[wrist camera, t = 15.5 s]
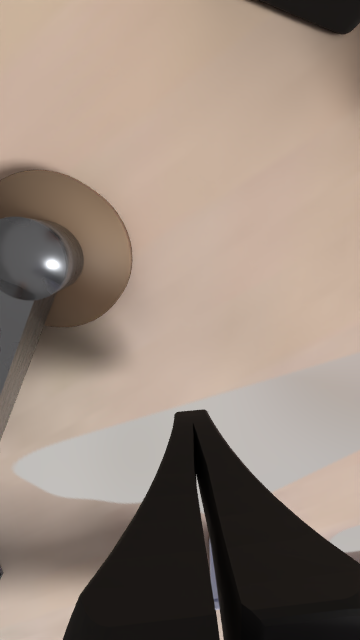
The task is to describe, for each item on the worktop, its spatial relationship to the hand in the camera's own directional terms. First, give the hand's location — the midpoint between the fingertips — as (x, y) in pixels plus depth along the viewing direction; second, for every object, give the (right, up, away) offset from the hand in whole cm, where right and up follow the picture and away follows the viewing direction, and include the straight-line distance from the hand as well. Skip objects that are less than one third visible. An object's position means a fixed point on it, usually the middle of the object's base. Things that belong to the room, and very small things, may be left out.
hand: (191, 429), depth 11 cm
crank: (-9, +3, +2) cm, 10 cm away
